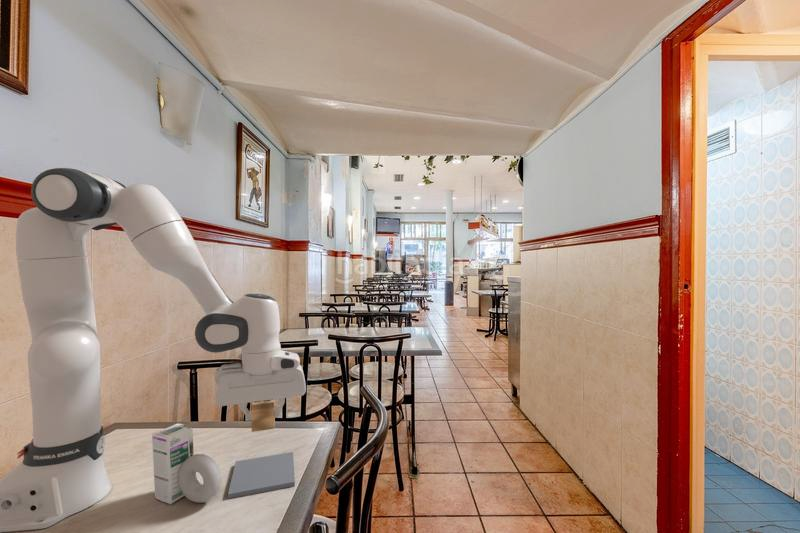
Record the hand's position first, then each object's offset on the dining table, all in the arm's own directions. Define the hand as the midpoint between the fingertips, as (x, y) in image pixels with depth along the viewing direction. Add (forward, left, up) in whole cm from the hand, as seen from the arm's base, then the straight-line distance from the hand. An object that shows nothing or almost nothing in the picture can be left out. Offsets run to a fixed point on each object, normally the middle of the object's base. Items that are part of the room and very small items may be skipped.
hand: (263, 417), depth 89 cm
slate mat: (0, 0, -14) cm, 14 cm away
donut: (-13, -6, -14) cm, 20 cm away
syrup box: (-19, -2, -14) cm, 23 cm away
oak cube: (0, 0, -2) cm, 2 cm away
